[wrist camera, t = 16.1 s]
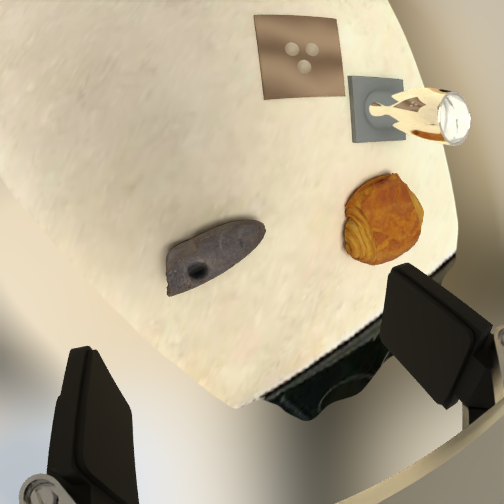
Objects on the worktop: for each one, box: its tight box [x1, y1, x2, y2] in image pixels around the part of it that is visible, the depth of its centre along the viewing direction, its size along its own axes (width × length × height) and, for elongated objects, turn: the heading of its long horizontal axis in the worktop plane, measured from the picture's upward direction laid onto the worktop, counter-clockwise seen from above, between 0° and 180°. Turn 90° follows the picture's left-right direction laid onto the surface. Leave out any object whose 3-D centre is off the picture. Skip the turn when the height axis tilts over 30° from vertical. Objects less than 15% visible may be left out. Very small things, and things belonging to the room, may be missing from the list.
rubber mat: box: [348, 76, 406, 143], centre depth 42 cm, size 10×10×1 cm
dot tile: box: [254, 15, 345, 100], centre depth 36 cm, size 12×12×1 cm
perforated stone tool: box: [166, 220, 266, 297], centre depth 41 cm, size 15×5×7 cm, turn 110°
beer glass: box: [364, 88, 471, 146], centre depth 35 cm, size 7×7×15 cm
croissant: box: [344, 173, 424, 265], centre depth 47 cm, size 14×16×8 cm
